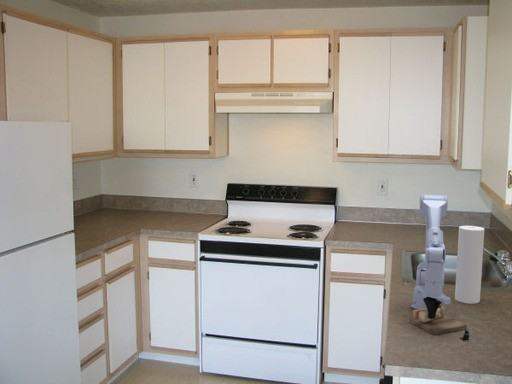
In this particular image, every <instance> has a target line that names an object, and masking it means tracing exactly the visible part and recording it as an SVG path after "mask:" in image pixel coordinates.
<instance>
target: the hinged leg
mask: <svg viewBox="0 0 512 384" xmlns="http://www.w3.org/2000/svg"><path fill="white" fill-rule="evenodd" d="M444 315H445V307H444V306H442V305H441V304H440V306H439V307H438V309H437V312H436V316H435V318H433V319H429V316H428V310H425V311H421V312H419V321H422V322H427V321H431V320H434V319H437V318H442V317H444Z"/></svg>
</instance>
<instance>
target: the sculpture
mask: <svg viewBox="0 0 512 384" xmlns="http://www.w3.org/2000/svg"><path fill="white" fill-rule="evenodd" d="M469 332H470V330H469V329H465V330H464V333H463V336H462V337H459V339H460V340H461V341H463V342H471V341H472V340H471V339H470V338H469V337H470V333H469Z"/></svg>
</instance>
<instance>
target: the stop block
mask: <svg viewBox="0 0 512 384" xmlns="http://www.w3.org/2000/svg"><path fill="white" fill-rule="evenodd" d="M425 310H427V309H424V308H423V309H418V310H417V309H413V310H412V318H414V319H418V318H419V312H421V311H425Z"/></svg>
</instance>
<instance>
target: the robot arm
mask: <svg viewBox="0 0 512 384" xmlns="http://www.w3.org/2000/svg"><path fill="white" fill-rule="evenodd" d="M448 199H449V198H448V196H447V195H446V194H444V195H443V194H441V195H440V194H424V193H422V194H420V197H419V216H420V217H421V218H424V220H425V221H424V222H425V247H424V249H425V250H424V261H422V262H420V263H419V264H418V265H417V267H416V268H417V269H416V278H415V280H416V281H415V282H416V285H415V287H414V289H413V292H412V293H413V295H412V304H411V305H410V307H411V308H413V309H414V310H418V309H423V308H424V309H427V310H428V316H429V319H433V318H435V316H436V312H437V309H438V307H439V306H440V305H441V304H442V303H443V304H444V305H451V303H452V301H451V297H449V296H447V295H446V294H444V293H443V287H444V285H445V267H444V264H445V263H446V257H447V255H446V253H447V252H446V248H445V247H446V246H445V244H444V231H443V230H442V229H440V227H441V219H443V218H445V217H446V215H447V210H448V207H449V203H448V202H449V200H448Z"/></svg>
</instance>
